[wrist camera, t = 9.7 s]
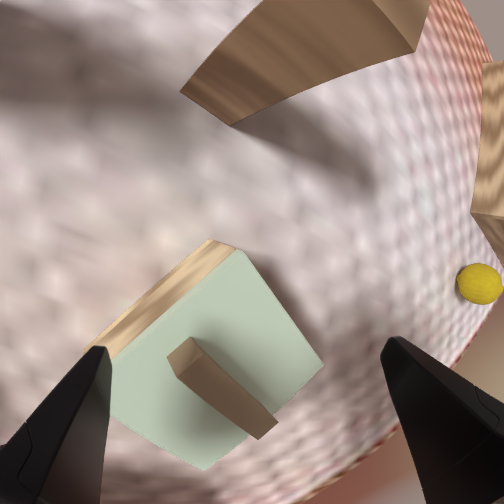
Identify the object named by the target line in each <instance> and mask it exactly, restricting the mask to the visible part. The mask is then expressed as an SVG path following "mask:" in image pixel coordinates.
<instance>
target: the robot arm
mask: <svg viewBox="0 0 504 504" xmlns="http://www.w3.org/2000/svg"><path fill="white" fill-rule="evenodd" d="M380 360H381V363H382V367H383V370H384V374H385V378H386V381H387V385H388V389H389V392H390V396H391V399H392V401H393V404H394V407H395V409H396V412H397V415H398V418H399V420H400V423H401V426H402V429H403V432H404V434H405V437H406V440H407V443H408V446H409V449H410V452H411V455H412V458H413V461H414V464H415V467H416V470H417V474H418V477H419V480H420V483H421V486H422V488H423V489H422V490H423V494H424V497H425V501H426V504H504V403H502V402H500V401H499V400H497V399H495V398H493V397H492V396H490V395H489V394H487V393H485V392H484V391H482V390H481V389H479V388H478V387H477V386H474V385H473V384H472V383H471V382H469V381H468V380H466V379H465V378H463V377H461V376H460V375H459V374H457V373H456V372H454V371H453V370H451V369H450V368H448V367H447V366H445V365H443V364H442V363H440V362H439V361H437V360H436V359H434V358H433V357H431V356H430V355H428V354H427V353H425V352H424V351H422V350H421V349H419V348H418V347H416V346H415V345H413V344H412V343H410V342H409V341H407V340H406V339H404V338H403V337H401V336H394V337H390V338H389V339H388V340H387V342H386V344H385V346H384V348H383V350H382V352H381V355H380ZM111 385H112V363H111V359H110V356H109V352H108V349H107V347H106V346H100V345H93V346H92V347H91V348H90V349H89V350H88V351H87V352H86V353H85V354H84V355H83V356H82V358H81V359H80V360H79V361H78V362H77V363H76V364H75V365H74V366H73V367H72V369H71V370H70V371H69V372H68V373H67V374H66V375H65V376H64V377H63V379H62V380H61V381H60V382H59V383H58V384H57V385H56V387H55V388H54V389H53V390H52V391H51V392H50V393H49V394H48V396H47V397H46V398H45V399H44V400H43V401H42V403H41V404H40V405H39V406H38V407H37V408H36V410H35V411H34V412H33V413H32V414H31V415H30V417H29V418H28V419H27V420H26V422H25V423H24V424H23V425H22V426H21V427H20V428H19V430H18V431H17V432H16V433H15V434H14V435H13V437H12V438H11V439H10V440H9V441H8V442H7V443H6V444H5V445H1V446H0V504H100V492H101V481H102V471H103V462H104V454H105V446H106V438H107V432H108V425H109V418H110V402H111Z"/></svg>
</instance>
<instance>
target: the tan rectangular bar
mask: <svg viewBox="0 0 504 504" xmlns="http://www.w3.org/2000/svg"><path fill="white" fill-rule="evenodd" d="M429 6H430V2H429V0H263V1H261V2H260V3H259V4H258V5H257V6H256V7H255V8H254V9H253V10H252V11H251V12H250V13H249V14H248V15H247V16H246V17H245V18H244V19H243V20H242V21H241V22H240V23H239V24H238V25H237V26H236V27H235V28H234V29H233V30H232V31H231V32H230V33H229V34H228V35H227V36H226V37H225V38H224V39H223V41H222V42H221V43H220V44H219V45H218V46H217V47H216V48H215V49H214V50H213V52H212V53H211V54H210V55H209V56H208V57H207V59H206V60H205V61H204V62H203V63H202V64H201V66H200V67H199V68H198V69H197V70H196V72H195V73H194V74H193V75H192V77H191V78H190V79H189V80H188V82H187V83H186V84H185V85H184V87H183V88H182V89H181V90H180V92H181V93H183V94H184V95H185V96H187V97H188V98H190V99H191V100H193V101H194V102H196V103H197V104H199V105H200V106H202V107H203V108H204V109H206V110H207V111H209V112H210V113H212V114H213V115H214V116H216V117H217V118H219V119H220V120H221V121H223V122H224V123H226V124H227V125H228V126H230V125H232V124H234V123H236V122H238V121H240V120H242V119H244V118H246V117H248V116H250V115H252V114H254V113H256V112H258V111H260V110H262V109H264V108H267V107H269V106H271V105H273V104H275V103H277V102H280V101H282V100H284V99H286V98H289V97H291V96H293V95H295V94H298V93H300V92H302V91H305V90H307V89H310V88H312V87H315V86H317V85H319V84H322V83H325V82H327V81H330V80H332V79H335V78H337V77H340V76H343V75H346V74H348V73H351V72H354V71H357V70H359V69H362V68H365V67H368V66H371V65H374V64H377V63H380V62H383V61H387V60H390V59H393V58H396V57H400V56H403V55H407V54H410V53H414V52H415V51H416V48H417V45H418V42H419V39H420V35H421V32H422V29H423V26H424V22H425V19H426V16H427V12H428V9H429Z"/></svg>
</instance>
